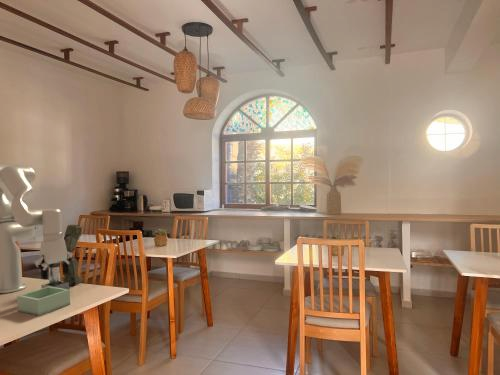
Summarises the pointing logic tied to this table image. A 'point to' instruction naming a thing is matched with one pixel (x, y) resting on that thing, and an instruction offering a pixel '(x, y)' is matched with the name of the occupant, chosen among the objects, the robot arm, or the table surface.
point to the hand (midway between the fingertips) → (55, 276)
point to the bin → (43, 300)
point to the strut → (54, 274)
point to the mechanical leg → (71, 241)
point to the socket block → (63, 285)
